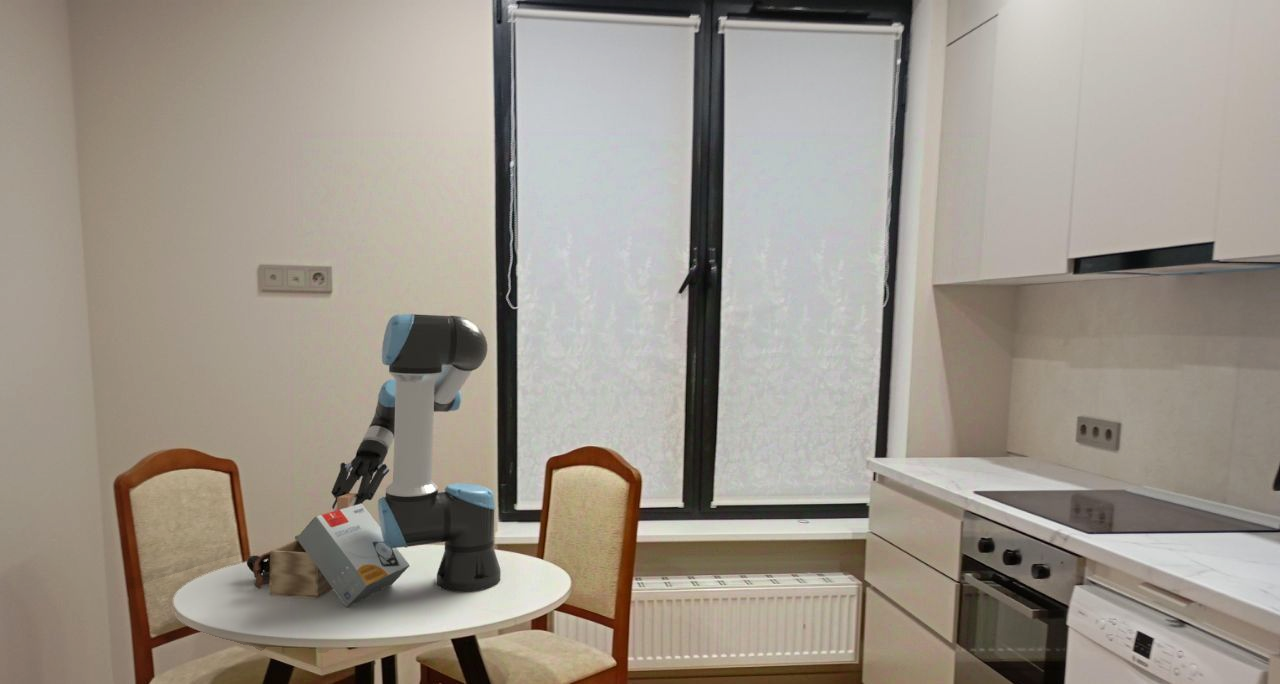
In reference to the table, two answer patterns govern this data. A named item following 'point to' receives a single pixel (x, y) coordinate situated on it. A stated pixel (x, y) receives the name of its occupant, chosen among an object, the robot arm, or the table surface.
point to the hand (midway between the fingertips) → (339, 521)
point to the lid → (342, 502)
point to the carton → (295, 573)
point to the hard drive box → (352, 553)
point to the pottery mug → (260, 569)
